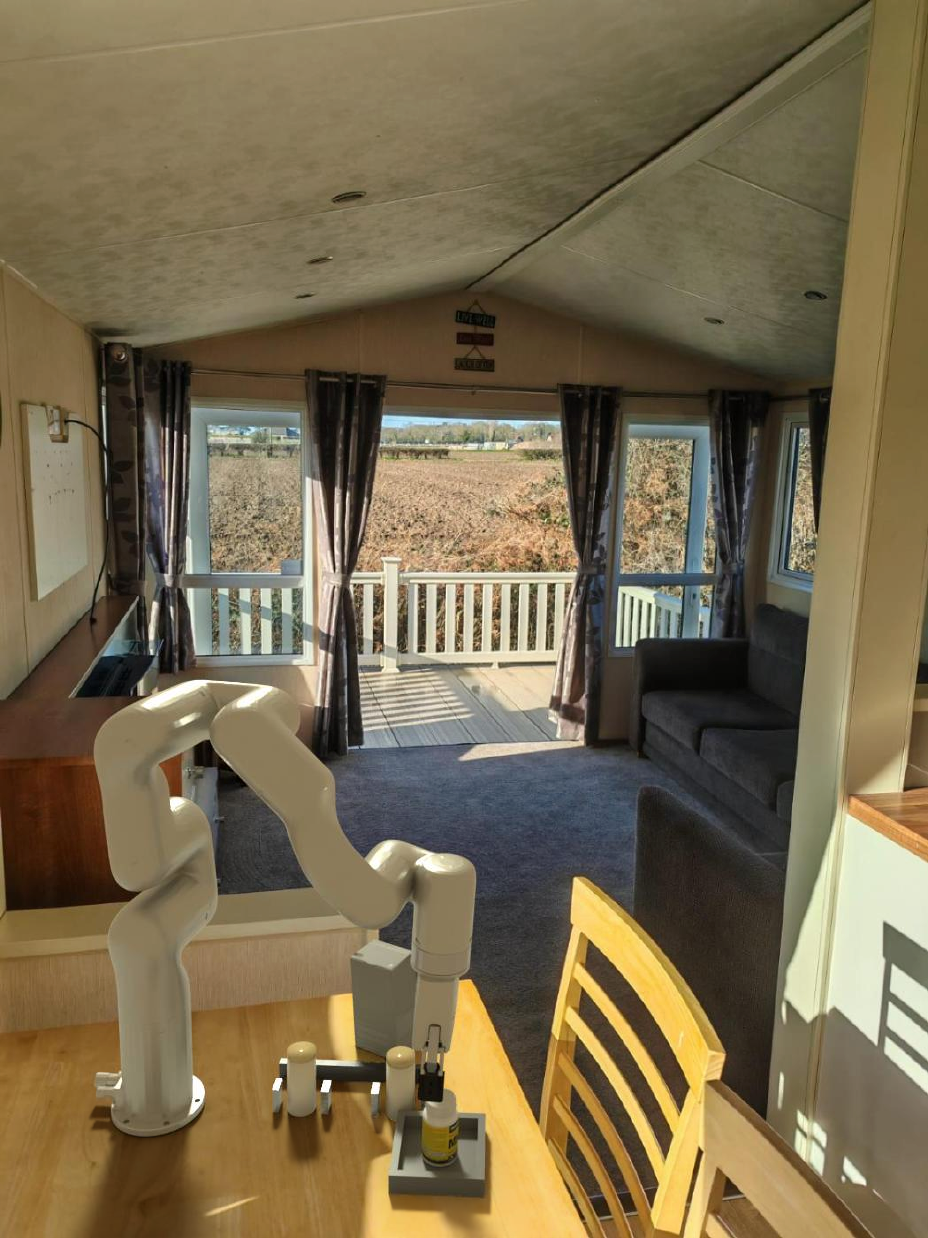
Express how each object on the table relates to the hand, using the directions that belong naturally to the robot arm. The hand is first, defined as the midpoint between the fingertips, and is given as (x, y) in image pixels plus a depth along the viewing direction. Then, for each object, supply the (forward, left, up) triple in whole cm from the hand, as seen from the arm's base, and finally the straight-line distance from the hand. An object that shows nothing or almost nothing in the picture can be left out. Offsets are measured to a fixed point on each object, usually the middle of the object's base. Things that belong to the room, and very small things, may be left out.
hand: (432, 1074), depth 122 cm
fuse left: (-19, +9, -12) cm, 24 cm away
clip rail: (-12, +12, -12) cm, 21 cm away
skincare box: (-9, +24, -13) cm, 28 cm away
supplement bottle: (+1, 0, -12) cm, 12 cm away
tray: (+1, 0, -12) cm, 12 cm away
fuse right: (-5, +9, -12) cm, 16 cm away
